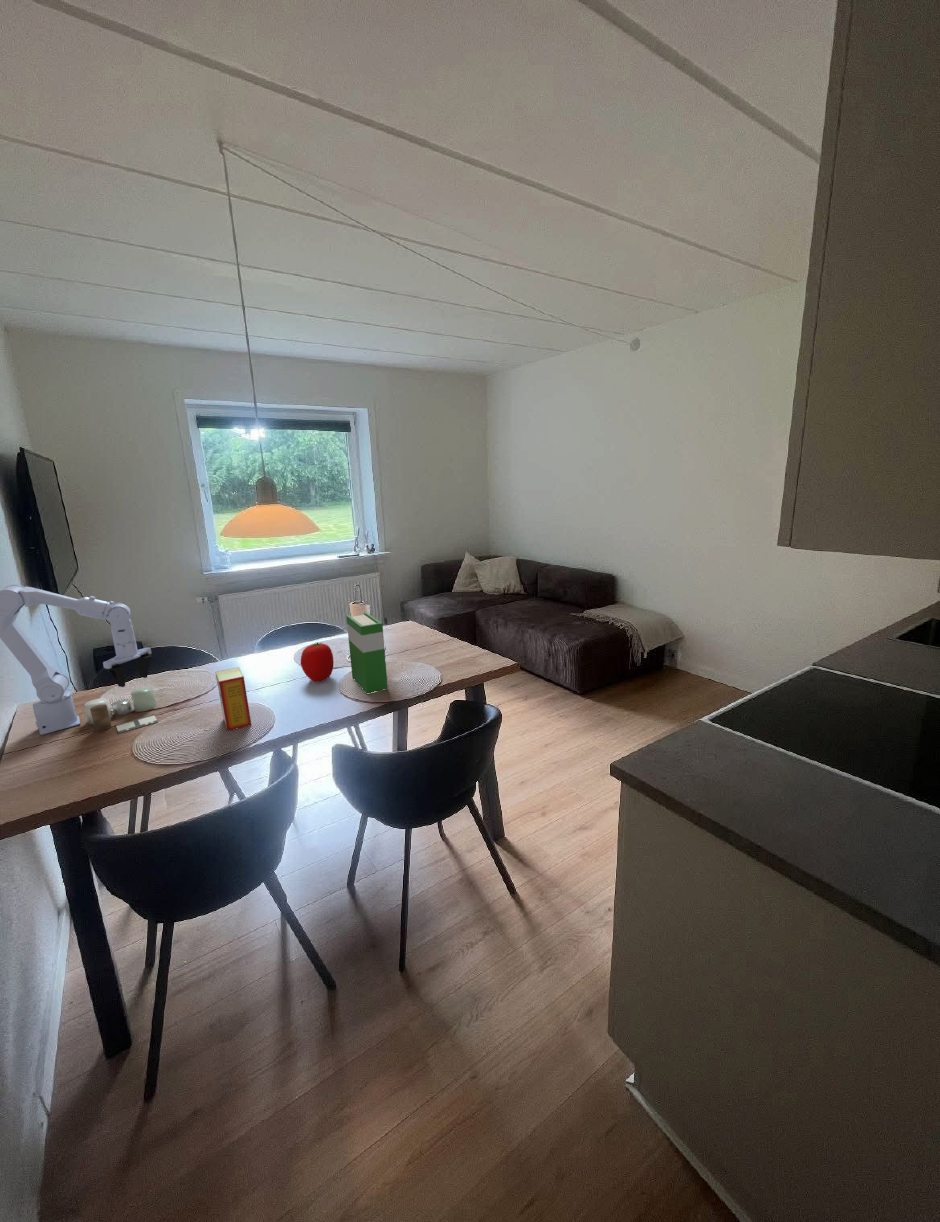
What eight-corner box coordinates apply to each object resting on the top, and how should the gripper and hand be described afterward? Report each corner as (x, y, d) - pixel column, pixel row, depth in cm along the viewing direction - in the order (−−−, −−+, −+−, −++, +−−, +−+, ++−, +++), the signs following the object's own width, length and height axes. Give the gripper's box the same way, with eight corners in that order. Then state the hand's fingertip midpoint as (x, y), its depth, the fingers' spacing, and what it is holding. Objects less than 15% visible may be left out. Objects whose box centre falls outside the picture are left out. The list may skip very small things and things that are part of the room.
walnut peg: (95, 733, 144) (90, 711, 142) (94, 728, 147) (89, 707, 145) (112, 728, 147) (107, 707, 145) (110, 724, 150) (105, 703, 148)
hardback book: (352, 677, 180) (346, 615, 174) (371, 673, 183) (366, 612, 177) (367, 694, 165) (360, 626, 159) (387, 689, 168) (382, 623, 162)
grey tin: (115, 717, 154) (112, 707, 153) (113, 712, 158) (111, 702, 157) (133, 712, 157) (131, 702, 156) (131, 708, 161) (128, 698, 160)
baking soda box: (223, 719, 150) (215, 670, 146) (246, 713, 154) (238, 665, 150) (227, 731, 143) (218, 680, 139) (251, 725, 146) (243, 675, 142)
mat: (118, 733, 143) (118, 732, 143) (115, 725, 148) (115, 724, 148) (158, 722, 150) (157, 721, 150) (153, 714, 155) (153, 714, 155)
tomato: (329, 685, 173) (325, 648, 170) (298, 686, 173) (293, 648, 170) (339, 672, 185) (336, 637, 182) (310, 673, 186) (305, 637, 182)
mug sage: (136, 713, 156) (132, 696, 155) (132, 706, 162) (128, 689, 160) (157, 707, 160) (154, 690, 159) (153, 700, 166) (150, 684, 164)
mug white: (89, 726, 149) (85, 708, 147) (87, 718, 154) (83, 700, 153) (113, 719, 152) (109, 702, 151) (110, 712, 158) (106, 695, 156)
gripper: (111, 649, 146) (120, 691, 149) (155, 635, 159) (162, 674, 163) (94, 648, 148) (104, 689, 151) (138, 634, 161) (146, 672, 165)
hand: (133, 681), depth 157 cm, fingers open, 7 cm apart
